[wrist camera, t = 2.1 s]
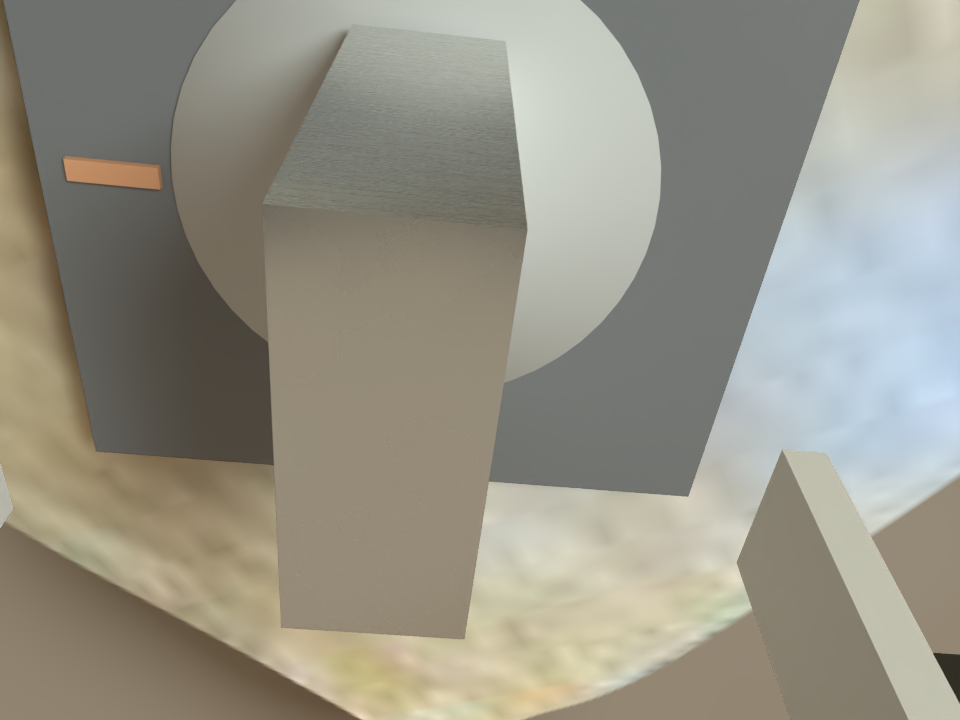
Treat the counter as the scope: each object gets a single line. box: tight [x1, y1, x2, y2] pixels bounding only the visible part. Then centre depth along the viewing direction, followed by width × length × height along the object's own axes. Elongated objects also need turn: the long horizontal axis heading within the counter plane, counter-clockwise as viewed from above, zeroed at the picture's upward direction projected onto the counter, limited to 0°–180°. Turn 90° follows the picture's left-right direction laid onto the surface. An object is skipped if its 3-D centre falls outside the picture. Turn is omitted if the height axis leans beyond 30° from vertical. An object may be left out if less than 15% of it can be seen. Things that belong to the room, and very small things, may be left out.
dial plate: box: [3, 0, 859, 496], centre depth 23 cm, size 20×20×3 cm
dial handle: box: [262, 24, 528, 639], centre depth 18 cm, size 9×4×10 cm, turn 174°
